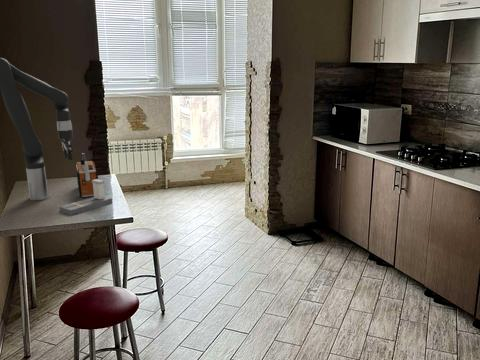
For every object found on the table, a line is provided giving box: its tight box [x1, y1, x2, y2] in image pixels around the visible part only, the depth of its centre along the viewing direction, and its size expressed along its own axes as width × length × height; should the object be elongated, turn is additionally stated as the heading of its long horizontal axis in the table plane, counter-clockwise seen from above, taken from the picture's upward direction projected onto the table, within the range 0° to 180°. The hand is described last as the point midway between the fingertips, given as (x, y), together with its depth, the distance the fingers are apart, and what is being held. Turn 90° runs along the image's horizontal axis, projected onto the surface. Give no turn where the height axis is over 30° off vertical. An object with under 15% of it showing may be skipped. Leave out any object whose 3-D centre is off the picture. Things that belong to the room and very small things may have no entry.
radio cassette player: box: [75, 152, 99, 198], centre depth 257 cm, size 29×10×20 cm, turn 21°
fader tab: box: [92, 178, 106, 199], centre depth 235 cm, size 3×6×9 cm, turn 52°
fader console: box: [59, 196, 113, 216], centre depth 231 cm, size 24×10×3 cm, turn 142°
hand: (68, 158), depth 249 cm, fingers open, 8 cm apart
